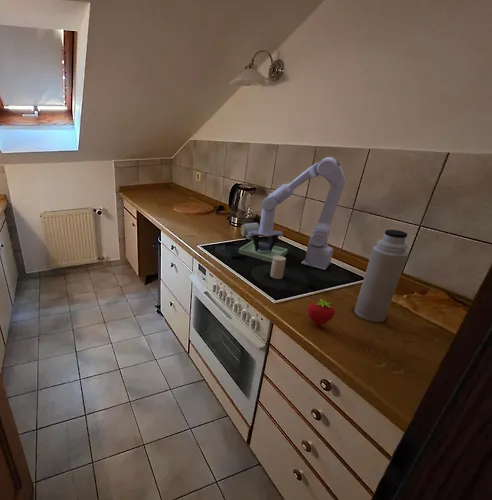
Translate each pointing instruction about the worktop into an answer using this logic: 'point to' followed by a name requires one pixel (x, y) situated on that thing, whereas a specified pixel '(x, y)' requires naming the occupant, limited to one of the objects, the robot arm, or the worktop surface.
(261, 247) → the jar lid
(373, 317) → the thermos bottle
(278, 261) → the jar
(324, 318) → the strawberry
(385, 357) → the worktop surface
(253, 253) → the tray
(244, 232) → the ceramic mug
